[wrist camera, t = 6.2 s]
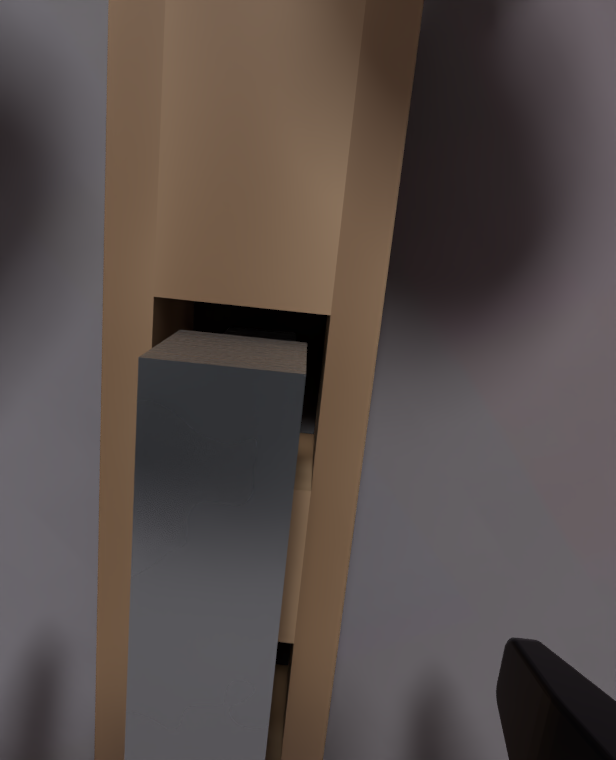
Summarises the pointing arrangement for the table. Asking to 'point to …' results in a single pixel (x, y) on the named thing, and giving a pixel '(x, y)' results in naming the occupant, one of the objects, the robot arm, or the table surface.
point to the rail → (251, 271)
